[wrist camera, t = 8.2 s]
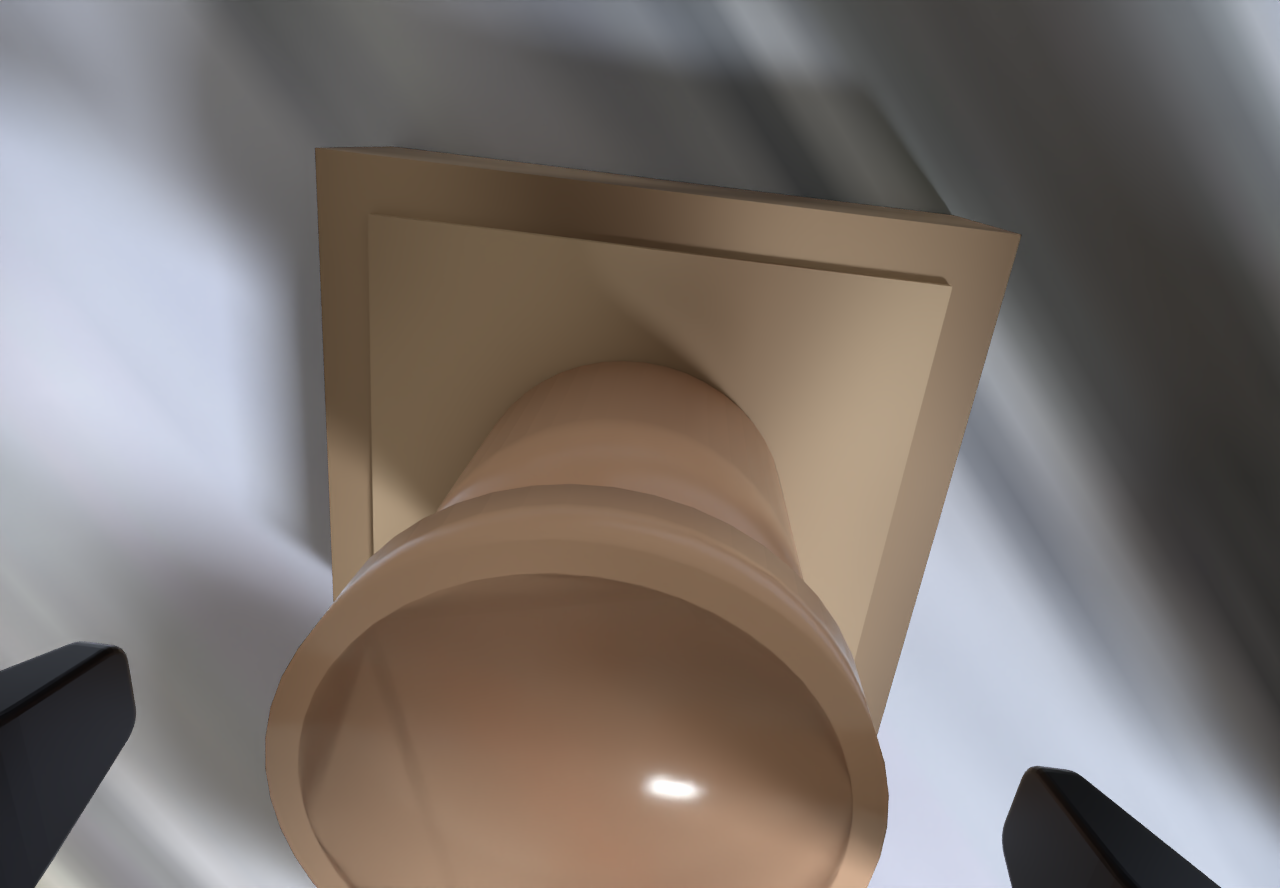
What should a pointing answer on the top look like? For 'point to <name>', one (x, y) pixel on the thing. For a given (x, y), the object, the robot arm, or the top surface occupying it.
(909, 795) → the top surface
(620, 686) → the terracotta pot
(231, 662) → the top surface
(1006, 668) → the top surface
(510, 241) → the square wooden tray
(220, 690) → the top surface
